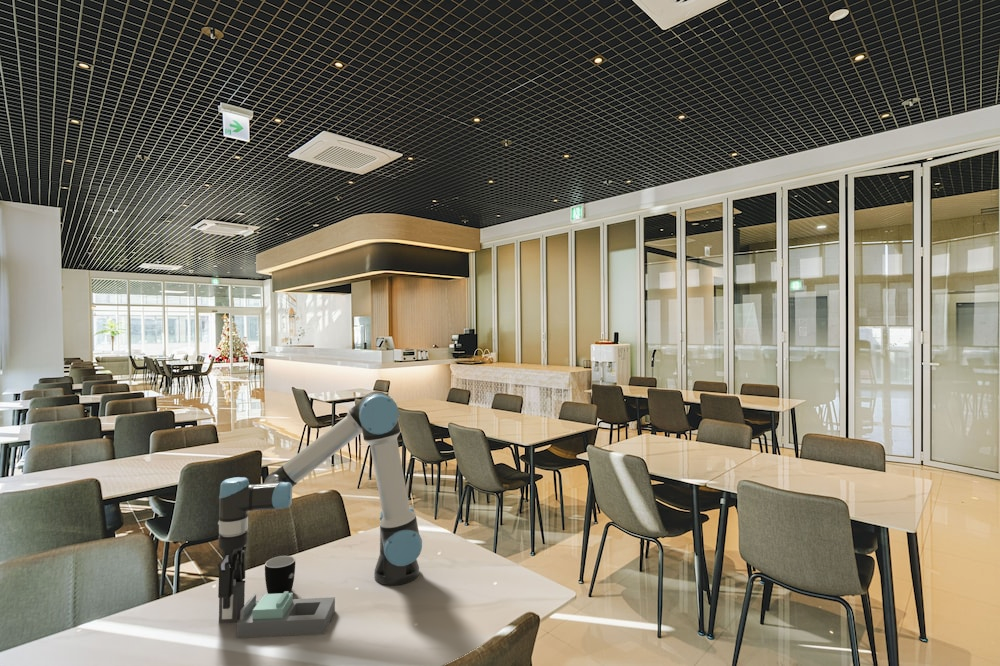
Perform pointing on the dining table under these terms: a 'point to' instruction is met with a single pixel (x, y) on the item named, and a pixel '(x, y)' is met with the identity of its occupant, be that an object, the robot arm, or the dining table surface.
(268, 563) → the mug
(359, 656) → the dining table surface
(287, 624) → the socket
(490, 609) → the dining table surface
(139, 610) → the dining table surface
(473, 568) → the dining table surface
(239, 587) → the plug
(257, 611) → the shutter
